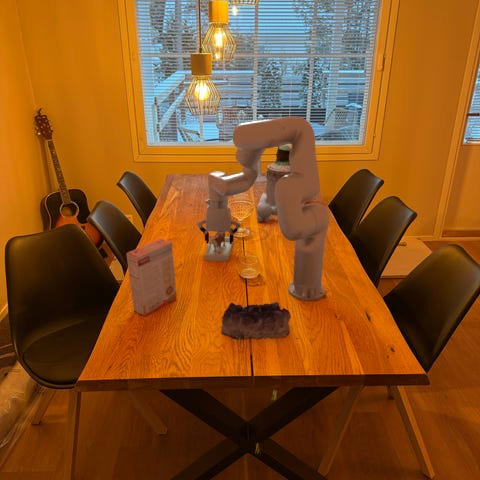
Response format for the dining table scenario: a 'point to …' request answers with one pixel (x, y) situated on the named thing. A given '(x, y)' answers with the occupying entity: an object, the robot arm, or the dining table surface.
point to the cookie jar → (276, 174)
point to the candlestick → (260, 174)
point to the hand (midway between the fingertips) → (219, 242)
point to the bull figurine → (217, 240)
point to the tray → (224, 253)
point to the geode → (255, 321)
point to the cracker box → (152, 276)
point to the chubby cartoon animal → (265, 212)
